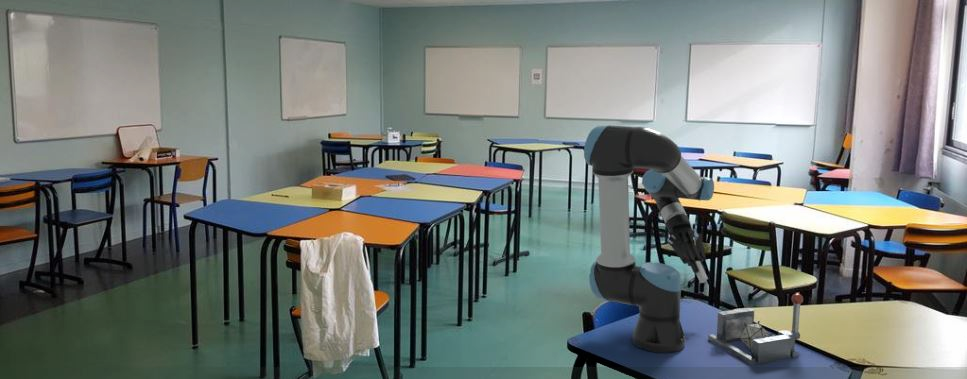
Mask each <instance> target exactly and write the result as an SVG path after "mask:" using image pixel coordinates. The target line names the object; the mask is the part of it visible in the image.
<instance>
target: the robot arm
mask: <svg viewBox="0 0 967 379" xmlns="http://www.w3.org/2000/svg"><path fill="white" fill-rule="evenodd" d="M583 156H584V158H583V159H584V160H585V163H586V164H587V165H589V166H590V167H591V166H592V174H593V175H594V176H595V177H596V178H597V180H598V182H597V183H598V203H599V204H598V206H599V210H598V211H599V233H600V238H599V239H600V254H599V255H598V256H597V257H596V260H595V261H594V262H593V263H592V265H591V266H590V269H589V270H590V273H589V274H588V276H589V279H588V280H589V287H590V290H591V292H592V293H593V295H594V296H595V297H596V298H598V299H602V300H605V301H606V302H613V303H620V304H624V305H625V304H626V305H630V306H636V307H638V308H639V309H638V311H639V313H638V319H637V322H636V324H635V326H634V330H633V332H632V343H633V342H634V343H635V344H636V345H637V346H639V347H641V348H643V349H642V350H644V349H646V350H645V351H647V350H649V351H648V352H653V353H662V354H663V353H675V352H679V351H681V350H682V349H684V348H685V346H686V337H685V333H684V329H683V326H682V322H681V319H680V318H681V317H680V316H681V315H680V314H681V294H682V293H681V292H682V284H681V282H682V276H681V274H680V272H679V271H678V270H677V269H676V268H674V267H673V266H671V265H668V264H665V263H661V262H651V261H650V262H644V263H642V264H641V265H640V266H637V265H636V258H635V256H634V255H633V254H632V253H631V247H630V245H631V242H630V240H631V239H630V208H629V207H630V205H629V203H630V201H629V200H630V198H629V177H630V176H631V175H632V174H633V173H634V169H646V170H647V171H646V172H645V173H644V175H643V176H642V178H641V183H642V185H643V187H644V190H645V191H646V192H647V193H648V194H649V195H650V196H651V198H652V199H653V200H654V202H655V203H656V205H657V207H658V211H659V212H660V214H661V217H662V219H663V220H664V223H665V226H666V228H667V230H668V232H669V233H670V236H668V238H667V239H666V243H667V244H668V245H669V246H670V247H671V248H672V249H673V251H674V253H676V255H677V256H678V258H679V259H680V260H681V262H682V264H684V265H687V266H688V267H690V268H691V270H692V272H693V273H694V274H695V275H696V277H697V279H698V282H699V283H700V284H704V283H705V282H706V281H707V280H709V277H708V274H706V267H705V265H704V263H703V262H704V261H705V260H706V258H707V257H706V251H705V247H704V243H703V233H701V232H700V233H697V232H695V230H694V229H693V228H692V224H691V221H690V219H689V217H688V215H687V212H686V211H685V208H684V206H683V205H682V203H681V201H680V199H686V200H693V201H710V200H711V199H712V198H713V197H714V192H715V182H714V179H712V178H711V177H706V176H700V175H699V173H697V171H696V170H694V168H693V167H692V166H691V165H690V164H689V162H688V161H686V159H685V158H684V157H683V155H682V151H681V149H680V147H679V146H678V145H677V144H676V143H675V142H674V141H673V140H672V139H670V138H669V137H668V136H666V135H665V134H663V133H661V132H660V131H657V130H654V129H652V128H649V127H645V126H643V127H642V126H621V125H611V124H608V125H598V126H595V127H593V128H592V129H591V130H590V132H589V133H588V136H587V137H586V140H585V144H584V149H583ZM634 343H633V344H634ZM635 344H634V345H635ZM636 345H635V346H636ZM637 346H636V347H637ZM639 347H638V348H639ZM641 348H640V349H641Z"/></svg>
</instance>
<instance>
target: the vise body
mask: <svg viewBox="0 0 967 379" xmlns="http://www.w3.org/2000/svg"><path fill="white" fill-rule="evenodd" d="M707 340H708V341H710V342H712V343H713V344H715V345H717V346H719V347H720V348H722V349H723V350H725V351H727V352H728V353H730V354H732V355H733V356H735V357H737V358H739V359H741V360H742V361H744V363H746V364H749V365H752V366H753V365H757V364H764V362H765V363H770V362H774V361H775V362H776V361H780V360H787V359H790V358H797V357H798V352H797V351H796V350H795V344H796V340H795V334H794V333H792V332H791V331H790V330H787V329H784V330H777V335H772V336H769V337H767V338H761V339H755V340H753V344H752V350H751V355H750V354H748V353H746V352H745V351H742V350H741V349H739V348H737V347H736V346H734V345H732V344H730V343H729V342H728V341H727V342H725V341H724V340H722V339H720V338H718V337H717V335H715V334H713V333H712V334H708V338H707Z"/></svg>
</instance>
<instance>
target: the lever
mask: <svg viewBox="0 0 967 379" xmlns="http://www.w3.org/2000/svg"><path fill="white" fill-rule="evenodd" d="M791 302H792V303H793V307H792V308H793V309H792V323H791V324H792V325H791V331H790V332H792V333H794V334H795V341H796V340H799V339H800V338H801V334H800V331H799V329H800V314H801V313H800V310H801V304H802V303H803V302H804V297H803V295H802V294H800V293H794V294H793V295H792V296H791Z"/></svg>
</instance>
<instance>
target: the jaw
mask: <svg viewBox="0 0 967 379" xmlns="http://www.w3.org/2000/svg"><path fill="white" fill-rule="evenodd" d="M754 322H755V310H754V309H753V308H750V307H745V308H744V307H743V308H738V309H737V308H736V309H730V310H724V311H723V310H722V311H718V312H717V324H716V326H717V327H716V328H717V329H716V336H717V337H718V338H720V339H722V340H724V341H725V342H727V343H728V342H731V341H738V340H740V339H737V338H738V337H739V338H740V336H741V334H742V332H743V330H744V329H743V328H745V325H744V323H746V325H750V324H755V323H754Z"/></svg>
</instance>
